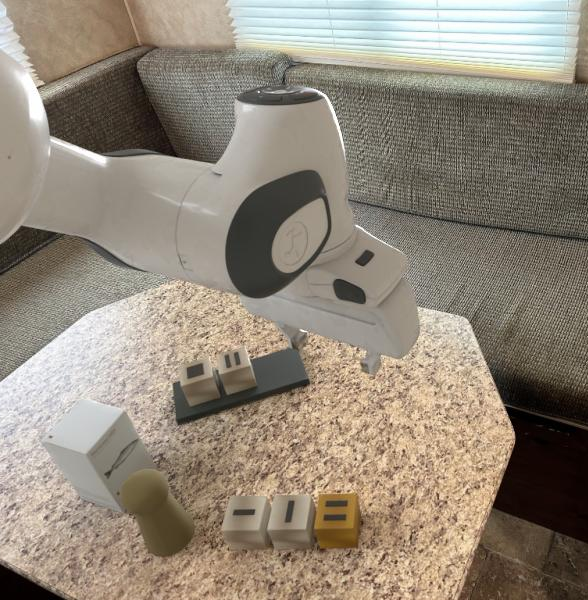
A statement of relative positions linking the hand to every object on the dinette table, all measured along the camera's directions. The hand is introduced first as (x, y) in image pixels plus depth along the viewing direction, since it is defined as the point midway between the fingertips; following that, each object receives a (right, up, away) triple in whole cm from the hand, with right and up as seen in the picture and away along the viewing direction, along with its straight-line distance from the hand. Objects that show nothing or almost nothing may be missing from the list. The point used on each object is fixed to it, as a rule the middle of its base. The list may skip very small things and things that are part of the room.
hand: (334, 358), depth 67 cm
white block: (-5, -22, +8) cm, 24 cm away
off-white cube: (-11, -22, +8) cm, 26 cm away
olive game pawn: (-21, -23, +9) cm, 33 cm away
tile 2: (-17, -6, +27) cm, 33 cm away
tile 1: (-23, -8, +26) cm, 35 cm away
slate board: (-17, -7, +28) cm, 33 cm away
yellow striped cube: (0, -22, +7) cm, 23 cm away
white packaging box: (-30, -19, +15) cm, 39 cm away
